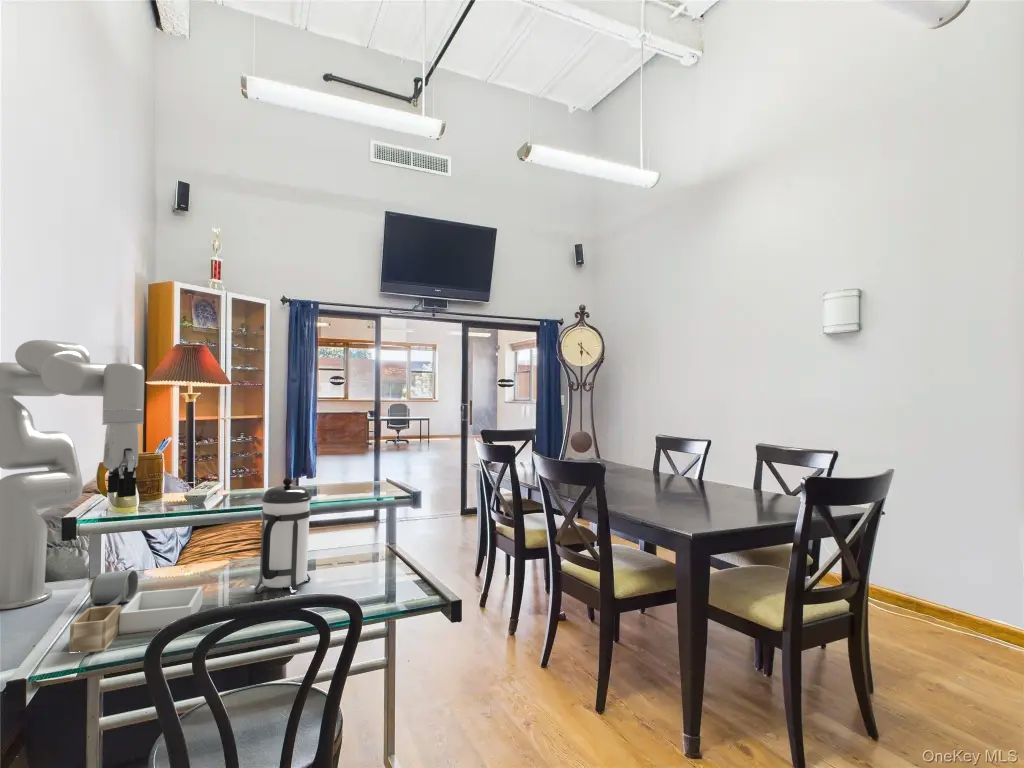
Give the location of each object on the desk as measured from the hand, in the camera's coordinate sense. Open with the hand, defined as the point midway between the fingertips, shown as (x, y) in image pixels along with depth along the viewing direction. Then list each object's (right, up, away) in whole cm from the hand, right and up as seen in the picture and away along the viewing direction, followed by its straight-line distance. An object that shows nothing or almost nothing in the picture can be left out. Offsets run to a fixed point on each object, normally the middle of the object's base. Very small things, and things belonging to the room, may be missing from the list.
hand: (121, 494), depth 122 cm
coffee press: (+25, -31, +26) cm, 48 cm away
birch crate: (0, -30, -8) cm, 31 cm away
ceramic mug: (-11, -30, +13) cm, 35 cm away
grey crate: (+6, -30, +5) cm, 31 cm away
